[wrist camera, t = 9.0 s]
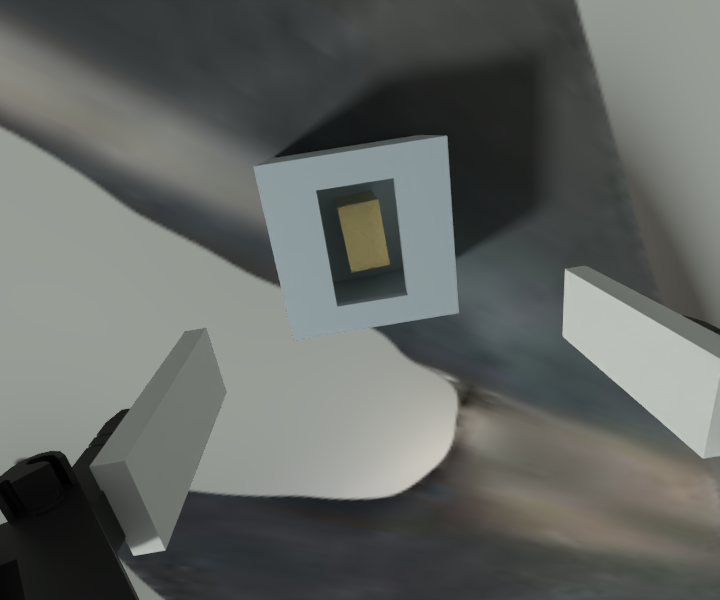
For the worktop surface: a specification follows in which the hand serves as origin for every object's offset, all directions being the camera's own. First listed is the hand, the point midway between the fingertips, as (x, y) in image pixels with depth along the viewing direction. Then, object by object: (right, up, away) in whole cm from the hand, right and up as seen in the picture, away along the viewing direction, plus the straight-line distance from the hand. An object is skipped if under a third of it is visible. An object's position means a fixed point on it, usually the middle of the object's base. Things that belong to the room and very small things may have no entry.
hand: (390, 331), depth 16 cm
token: (-1, +8, +21) cm, 22 cm away
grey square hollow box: (-1, +8, +21) cm, 23 cm away
